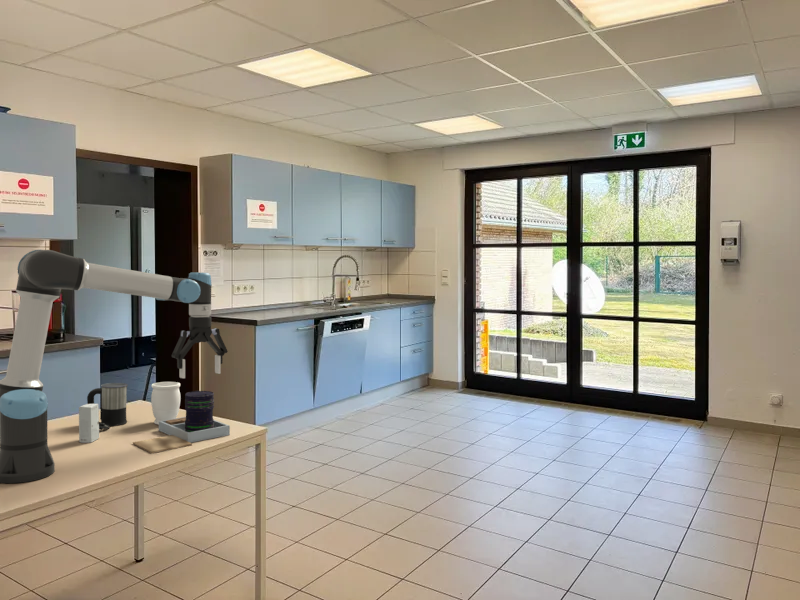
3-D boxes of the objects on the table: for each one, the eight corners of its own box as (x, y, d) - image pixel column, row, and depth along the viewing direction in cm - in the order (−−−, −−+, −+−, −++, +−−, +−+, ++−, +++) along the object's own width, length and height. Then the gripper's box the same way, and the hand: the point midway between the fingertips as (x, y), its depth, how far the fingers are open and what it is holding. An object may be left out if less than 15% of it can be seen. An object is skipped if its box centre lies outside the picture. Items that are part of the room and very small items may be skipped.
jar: (186, 422, 239) (186, 383, 238) (163, 427, 231) (163, 387, 230) (168, 417, 245) (168, 380, 244) (145, 423, 236) (145, 384, 235)
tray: (187, 443, 211) (187, 433, 211) (158, 430, 226) (158, 421, 226) (229, 434, 223) (229, 425, 223) (199, 423, 238) (199, 414, 238)
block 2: (183, 431, 226) (184, 420, 226) (177, 429, 229) (177, 418, 228) (193, 429, 230) (193, 418, 229) (186, 427, 232) (186, 416, 232)
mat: (151, 453, 199) (151, 451, 199) (132, 444, 209) (132, 442, 209) (192, 445, 209) (192, 443, 209) (172, 436, 219) (172, 434, 219)
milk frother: (125, 419, 241) (125, 381, 241) (131, 428, 228) (131, 388, 227) (85, 423, 234) (84, 384, 233) (88, 433, 221) (88, 392, 220)
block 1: (170, 433, 223) (170, 422, 223) (165, 431, 226) (165, 420, 226) (181, 431, 226) (181, 420, 226) (176, 429, 229) (176, 418, 228)
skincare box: (91, 443, 209) (91, 407, 208) (78, 442, 209) (78, 407, 208) (99, 437, 215) (99, 403, 214) (86, 437, 215) (86, 403, 214)
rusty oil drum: (178, 436, 220) (178, 394, 219) (199, 429, 228) (199, 389, 228) (199, 440, 215) (199, 397, 214) (219, 433, 224) (220, 392, 223)
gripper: (171, 318, 208) (171, 381, 209) (237, 315, 226) (237, 372, 227) (161, 317, 213) (161, 378, 215) (226, 313, 231) (226, 370, 232)
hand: (200, 375), depth 221 cm, fingers open, 13 cm apart
